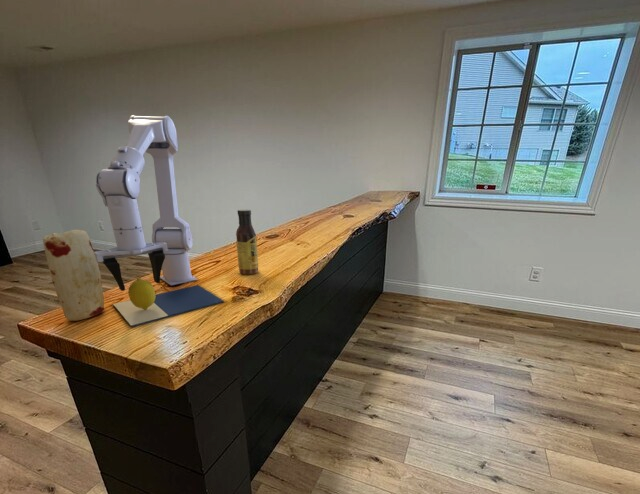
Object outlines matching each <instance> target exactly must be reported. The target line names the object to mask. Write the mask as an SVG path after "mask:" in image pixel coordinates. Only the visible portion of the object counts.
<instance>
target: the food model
mask: <svg viewBox="0 0 640 494" xmlns="http://www.w3.org/2000/svg"><path fill="white" fill-rule="evenodd" d="M42 243H43V248H44V253H45V258H46V262H47V266H48V270H49V274H50V278H51V281H52V284H53V287H54V290H55V294H56V296H57V299H58V301H59V303H60V307H61V309H62V312H63V315H64V317H65V319H66V321H69V322H71V321H75V322H77V321H82V320H86V319H88V318H91V317H94V316H97V315H99V314H101V313H103V312H104V311H105V300H104V299H105V298H104V290H103V289H104V288H103V281H102V276H101V271H100V267H99V262H97V261H96V258H95V254H94V252H95V251H94V247H93V245H92V242H91V238H90V237H89V234H88V233H87V231H86V230H82V229H72V230H67V231H64V232H63V231H62V232H60V233H57V232H52V233H50V234H48V235H45V236H44V237H43V239H42Z"/></svg>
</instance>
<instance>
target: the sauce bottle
mask: <svg viewBox="0 0 640 494" xmlns="http://www.w3.org/2000/svg"><path fill="white" fill-rule="evenodd" d="M237 216H238V227H237V229H236V231H235V237H236V253H237V263H238V264H237V265H238V270H239V273H240V275H247V276H248V275H255V274H257V273H258V272H259V256H258V242H257V233H256V232H255V229H254V227H253V224H252V210H251V209H247V208H246V209H238V210H237Z"/></svg>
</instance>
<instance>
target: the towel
mask: <svg viewBox="0 0 640 494" xmlns="http://www.w3.org/2000/svg"><path fill="white" fill-rule="evenodd" d="M223 303H225V302H224V300H223V299H221V298H220V297H218V296H217V295H215V294H213V293H211V292H210V291H209V290H207V289H205V288H203V287H202V286H200V285H199V284H197V285H193V286H188V287H183V288H178V289H174V290H170V291H166V292H161V293H157V294H156V293H155V301H154V303H153V304H152V305H151V306H150V307H148V309H147V310H144V309H142V308H138V307H136V306H135V305H133V303H132V302H131V300H130V299H129V300H125V301H119V302H116V303H112V304H113V307H114V308H115V309H116V310H117V312H118V313H119V314H120V315H121V317H122V318H123V319H124V320H125V321H126V323H127V324H128V325H129V326H130V328H133V327H138V326H141V325H144V324H149V323H152V322H155V321H160V320H163V319H167V318H170V317H174V316H179V315H181V314H185V313H189V312H192V311H196V310H200V309H203V308H208V307H212V306H215V305H219V304H223Z"/></svg>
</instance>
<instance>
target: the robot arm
mask: <svg viewBox="0 0 640 494" xmlns="http://www.w3.org/2000/svg"><path fill="white" fill-rule="evenodd" d="M127 128H128V132H129V136H128V139H127V141H126V145H123V146H118V148H117V150H116V152H115V154H114V156H113V157H112V159H111V161H110V163H109V165H108V166H107V168H104V169H101V170H100V171H99V172H98V173H96V177H95V187H96V190H97V192H98V194H99V195H100V196H101V199H102V201H103V205H104V206H105V208H107V210H108V214H109V218H110V223H111V227H112V232H113V235H114V239H115V244H116V247H111V248H107V249H103V250H96V251H94V254H95V258H96V261H97V263H101V262H102V263H103V265H104V266H105V267H106V268H107V270H108V271H109V273H110V274H111V275H112V277H113V278H114V280H115V281H116V284H117V286H118V288H119V291H121V292H124V291H126V288H125V284H124V280H123V278H122V277H123V276H122V272H121V265H120V263H119V262H118V259H122V258H128V257H136V256H141V255H147V256H148V258H149V262H150V265H151V271H152V277H153V282H154V283H156V284H161V280H162V281H163V282H165V283H167V284H168V285H169V286H175V285H181V284H185V283H190V282H195V281H197V280H198V278H197V277H195V276H194V275H192V270H191V269H192V268H191V261H190V256H189V251H190V250H191V249H192V248H193V243H194V239H193V234H192V230H191V226H190V223H188V222H187V221H186V220H184V219H183V218H182V217H180V216H179V215H180V214H179V205H178V204H179V203H178V196H177V186H176V175H175V165H174V155H175V154H176V153H178V152H179V150H178V149H179V148H178V147H179V145H178V134H177V128H176V126H175V123H174V121H173V119H172V118H171V117H170V116H169V115H163V116H153V115H135V114H133V115H130V116H129V118H128V121H127ZM145 153H146V154H149V155H151V157H152V159H153V166H154V167H153V168H154V174H155V175H154V176H155V184H156V185H155V186H156V192H157V201H158V210H159V218H158V219H156V221H154V223H152V226H151V227H152V233H151V242H147V243H146V238H145V234H144V229H143V224H142V218H141V214H140V209H139V205H138V201H137V200H138V199H137V198H138V197H139V195H140V192H141V186H140V185H141V177H140V176H141V174H142V171H143V169H144V168H145V165H146V161H145V157H144V154H145ZM161 273H162V275H161Z"/></svg>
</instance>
